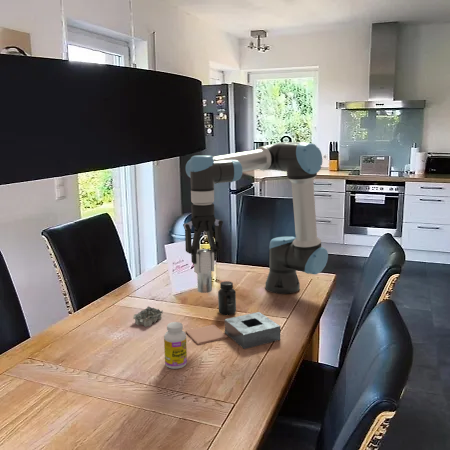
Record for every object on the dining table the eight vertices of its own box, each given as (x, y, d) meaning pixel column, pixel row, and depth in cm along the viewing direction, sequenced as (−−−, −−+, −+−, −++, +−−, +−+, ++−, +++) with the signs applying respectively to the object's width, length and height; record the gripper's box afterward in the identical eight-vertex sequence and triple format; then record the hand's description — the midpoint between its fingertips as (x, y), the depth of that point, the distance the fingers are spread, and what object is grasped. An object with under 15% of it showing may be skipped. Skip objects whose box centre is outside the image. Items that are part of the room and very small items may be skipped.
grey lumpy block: (148, 328, 170) (147, 317, 169) (131, 324, 173) (131, 314, 172) (165, 317, 179) (164, 307, 178) (149, 314, 182) (148, 304, 181)
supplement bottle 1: (170, 372, 139) (169, 331, 136) (161, 362, 144) (159, 323, 141) (190, 365, 142) (189, 326, 139) (181, 357, 148) (179, 318, 145)
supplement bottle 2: (236, 309, 185) (236, 280, 183) (235, 316, 179) (235, 286, 176) (219, 308, 186) (218, 280, 184) (217, 315, 179) (216, 285, 177)
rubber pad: (213, 325, 170) (213, 324, 170) (227, 337, 160) (227, 336, 160) (185, 332, 165) (185, 330, 165) (197, 344, 156) (197, 342, 156)
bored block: (259, 324, 170) (259, 311, 169) (280, 340, 158) (280, 326, 157) (224, 332, 164) (224, 319, 163) (243, 349, 152) (243, 334, 151)
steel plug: (208, 287, 163) (207, 247, 160) (214, 291, 158) (213, 250, 155) (195, 289, 161) (194, 249, 158) (201, 293, 156) (200, 252, 153)
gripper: (222, 199, 160) (223, 264, 165) (173, 203, 153) (175, 272, 158) (232, 202, 154) (232, 270, 159) (181, 207, 146) (183, 278, 151)
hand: (204, 271), depth 158 cm, fingers closed on steel plug, 5 cm apart
